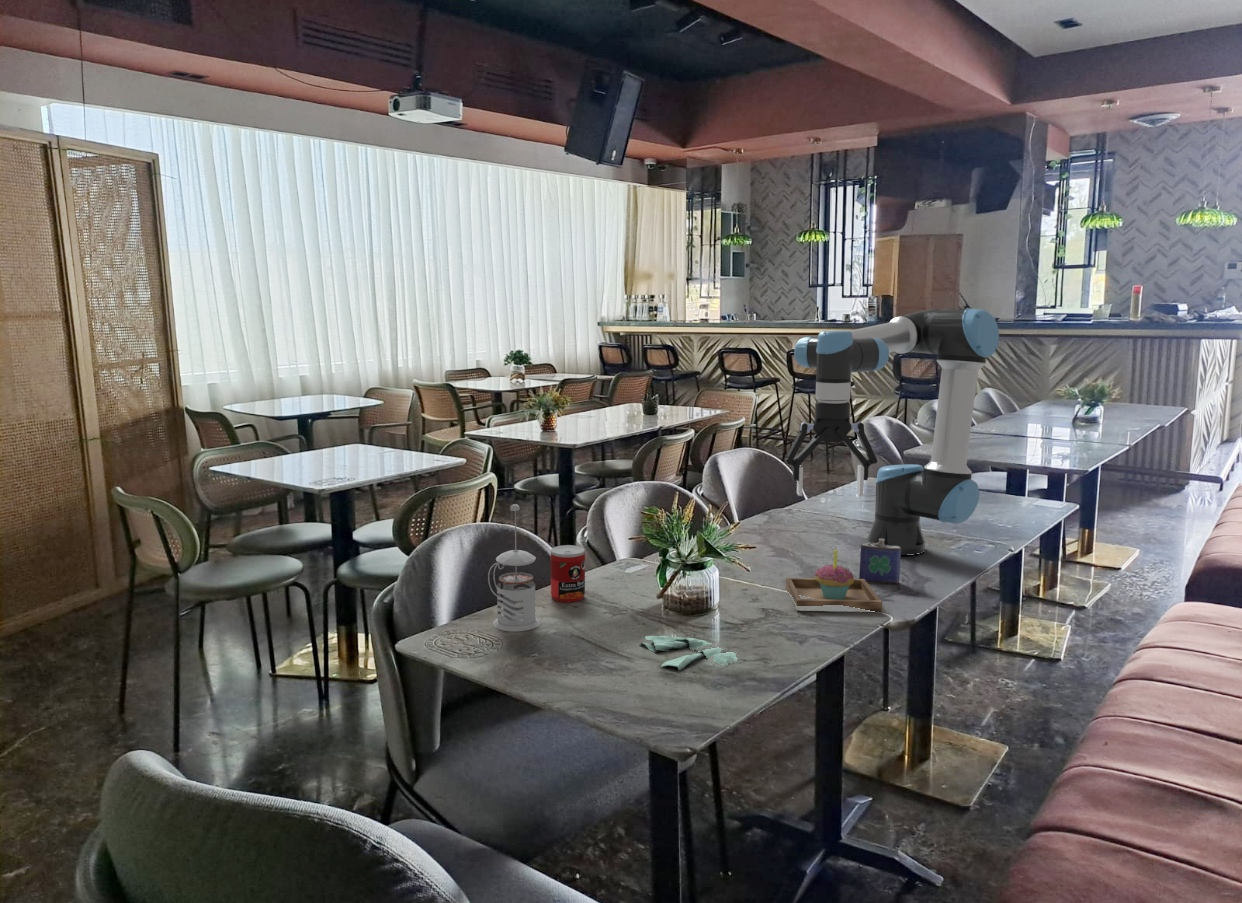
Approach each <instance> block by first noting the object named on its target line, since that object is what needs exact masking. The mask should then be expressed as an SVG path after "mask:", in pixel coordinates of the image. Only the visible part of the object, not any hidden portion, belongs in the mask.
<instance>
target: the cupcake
mask: <svg viewBox="0 0 1242 903" xmlns="http://www.w3.org/2000/svg"><path fill="white" fill-rule="evenodd" d="M834 548H835V549H834V550H833V564H827V565H824V566H822V567H820V568H817V570H815V571H816V572H815V573H814V578H815V580H816V581H818V582H819V584H820V587H821V590H822V593H823V596H824V597H825V598H827V599H835V600H841V599H844V598H845V596H846V593H847V591H848V588H849V586H850V585H851V584H853V583H854V579H855V578H854V577H855V575H854V574H853V572H852V571H851V570H850V569H848V568H846V567H843V566H842V565H839V564H837V562H838V561H837V560H838V549H837V547H834Z"/></svg>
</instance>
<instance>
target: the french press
mask: <svg viewBox="0 0 1242 903" xmlns="http://www.w3.org/2000/svg"><path fill="white" fill-rule="evenodd" d="M509 510H510V511H512V512H514V544H515V545H514V549H511V550H507V551H505V552H502V553H501V554H499V555H498V556H496V558H495V560H496V562H495V563H494V564H492V565H491V566H490V568H489V570H488V574H487V583H488V585H489V588H490V591H491V592H492V594H493V595H494V596H495V597H497V599H496V601H497V604H496V605H497V606H496V607H497V611H496V612H497V618H495V619H494V620H493V623H492V626H493V627H494V628H495V629H497V630H500V631H504V632H505V631H506V632H523V631H524V632H525V631H531V630H533V629H535V628H537V627H538V626H540V625H541V620H540V619H539V618H538V617H537V616H536V615H537V614H536V583H535V582H534V581H533V580H534V576H533V575H532V574H531V573H527V572H521V571H520V572H518V571H517V567H520V566H527V565H530V564H533V563H534V562H535V561H536V558H537V557H536V556H534V555H533V554H532V553H530V552H528V551H525V550H521V549H517V514H516V513H517V511H520V506H519V505H518V504H515V503H514V504H512V505H511V506H510V509H509ZM500 565H502V567H500ZM505 566H511V567H512V566H514V568H515V571H513V572H507V573H504V574H501V575H499V577H498V581H499V582H498V583H497V582H496V579H495V577H496V576H495V572H496V568H497V567H498V570H502V569H504V568H505ZM492 568H494V570H493V582H494V586H495V588H496V593H495V592H494V590H493V588H492V585H491V583H490V581H491V580H490V573H491V570H492ZM496 583H497V584H496ZM501 583H502V584H501ZM518 585H524V586H521V587H520V586H519V587H516V586H518ZM525 585H526V586H528V587H529V588H528V587H525ZM501 586H502V588H501ZM515 587H516V588H515ZM502 608H503V609H502Z"/></svg>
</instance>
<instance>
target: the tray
mask: <svg viewBox="0 0 1242 903" xmlns="http://www.w3.org/2000/svg"><path fill="white" fill-rule="evenodd" d="M785 589H786V592H787V593H788V592H789V593H790V594H791V595H792V597H793V599H794V601H795V603H796V605H797V606H823V605H843V606H849V607H855V608H860V609H865V610H870V611H875V612H881V613H882V612H883V610H882V608H883V607H882V606H883V602H882V600H881V599H880V597H879V595H877V593H876V592H875V591H874V589H873V588H872V587H871V586H870V584H869V583H867V582H866V581H865V579H859V578H854V583H853V584H851V585H850V586H849V588H848V591H847V593H846V596H845V598H844V599H841V600H835V599H827V598H825V597H824V596H823V593H822V590H821V587H820V584H819V582H818V581H816V580H815V577H814V578H813V577H785ZM799 595H801V596H805V597H810V598H814V599H801V598H800V596H799Z"/></svg>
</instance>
